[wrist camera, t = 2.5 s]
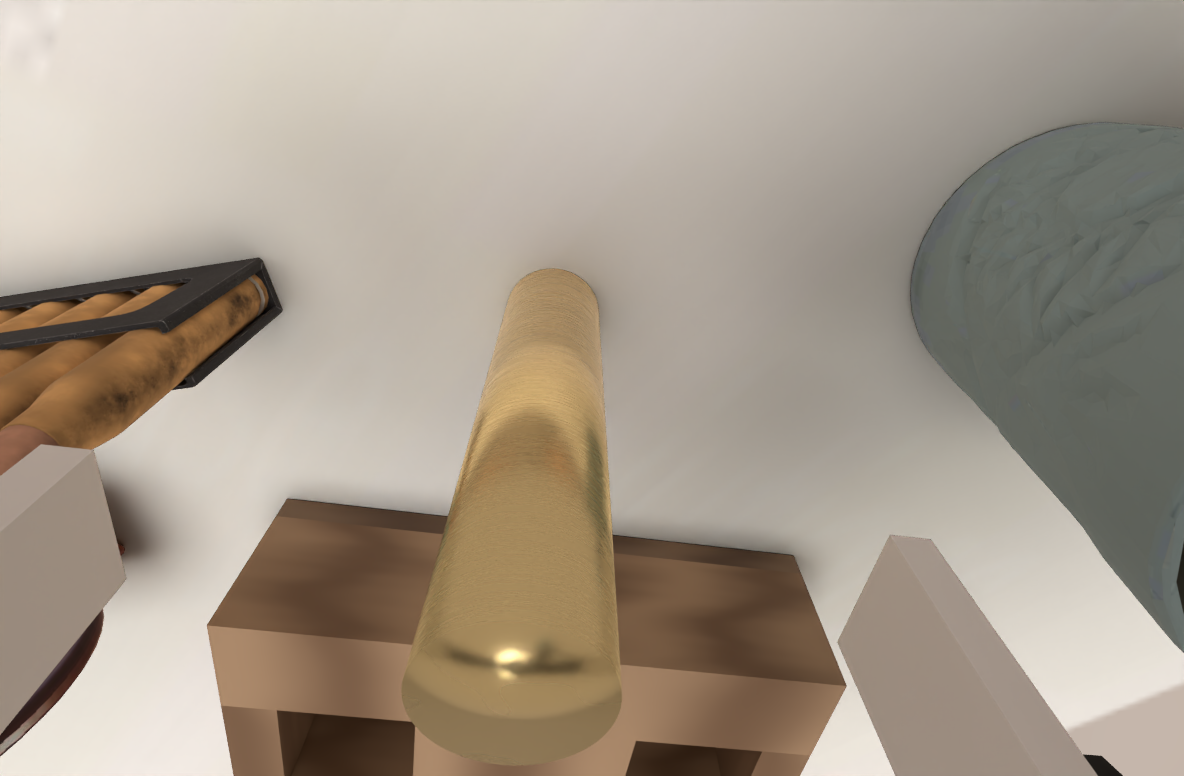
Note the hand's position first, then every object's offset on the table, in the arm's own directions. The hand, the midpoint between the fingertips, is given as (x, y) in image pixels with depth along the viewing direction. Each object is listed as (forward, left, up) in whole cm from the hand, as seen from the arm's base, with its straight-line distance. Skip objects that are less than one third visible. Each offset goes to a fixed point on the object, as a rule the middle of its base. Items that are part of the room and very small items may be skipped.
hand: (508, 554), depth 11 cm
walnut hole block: (-1, +15, -11) cm, 19 cm away
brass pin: (0, 0, -11) cm, 11 cm away
